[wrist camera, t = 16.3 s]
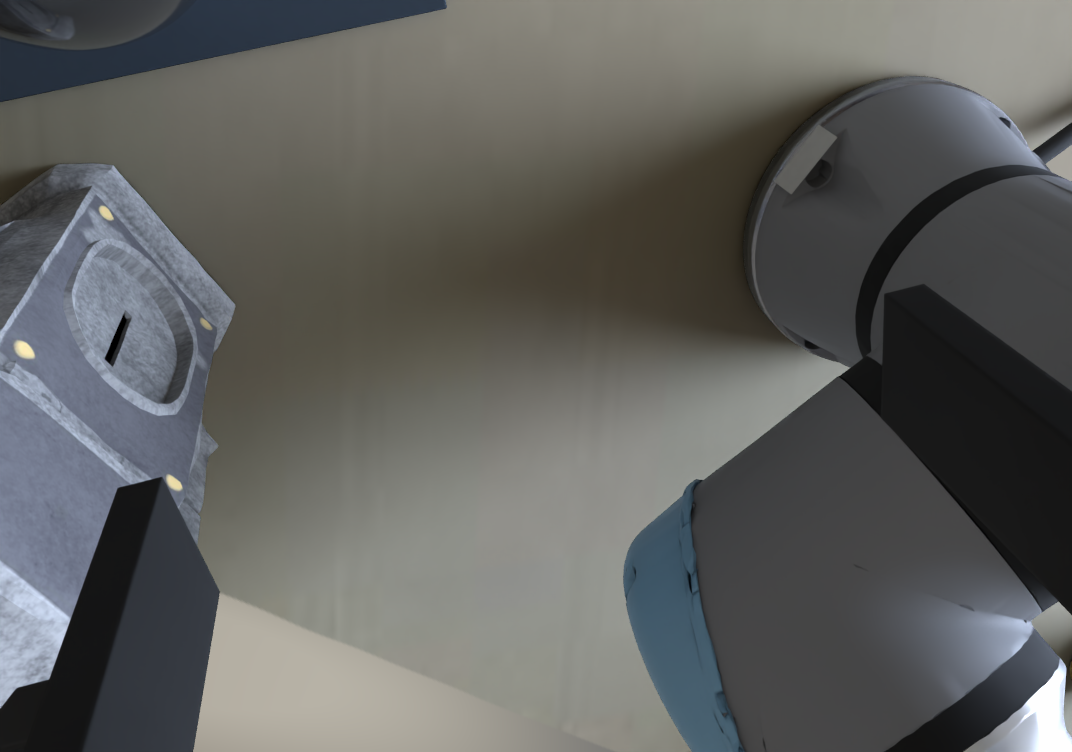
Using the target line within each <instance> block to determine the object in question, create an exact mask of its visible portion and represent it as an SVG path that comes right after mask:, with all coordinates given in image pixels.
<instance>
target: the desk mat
mask: <svg viewBox="0 0 1072 752" xmlns="http://www.w3.org/2000/svg"><path fill="white" fill-rule="evenodd" d="M446 7H447V6H446V1H445V0H197V1H196V2H195V3H194V4H193V5H192V6H191V7H190V8H189V9H188V10H187V11H186V12H185V13H184V14H183V15H182V16H181V17H180V18H178V19H177V20H176V21H175V22H173V23H172V24H170V25H169V26H168V27H166V28H164V29H163V30H161V31H159V32H157V33H155V34H153V35H151V36H149V37H147V38H144V39H142V40H139V41H136V42H133V43H130V44H126V45H122V46H118V47H113V48H108V49H102V50H93V51H56V50H47V49H40V48H34V47H30V46H25V45H21V44H17V43H13V42H9V41H6V40H3V39H0V102H3V101H8V100H12V99H17V98H22V97H27V96H31V95H36V94H41V93H46V92H51V91H55V90H60V89H65V88H70V87H74V86H79V85H84V84H89V83H93V82H98V81H103V80H108V79H112V78H117V77H122V76H127V75H132V74H136V73H141V72H146V71H151V70H155V69H160V68H165V67H170V66H174V65H179V64H184V63H189V62H193V61H198V60H203V59H208V58H213V57H217V56H222V55H227V54H232V53H236V52H241V51H246V50H251V49H255V48H260V47H265V46H270V45H275V44H279V43H284V42H289V41H294V40H298V39H303V38H308V37H313V36H317V35H322V34H327V33H332V32H336V31H341V30H346V29H351V28H356V27H360V26H365V25H370V24H375V23H379V22H384V21H389V20H394V19H398V18H403V17H408V16H413V15H417V14H422V13H427V12H432V11H437V10H441V9H446Z"/></svg>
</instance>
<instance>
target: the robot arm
mask: <svg viewBox="0 0 1072 752" xmlns="http://www.w3.org/2000/svg"><path fill="white" fill-rule="evenodd" d="M1070 145H1072V123H1070V124H1069V125H1068V126H1066V127H1065V128H1063V129H1062V130H1061V131H1059V132H1058V133H1057V134H1055V135H1054V136H1053V137H1051V138H1050V139H1048V140H1047V141H1046V142H1044V143H1043V144H1042V145H1040V146H1039V147H1037V148H1036V149H1035V150H1033V151H1030V150H1029V147H1028V145H1027V143H1026V141H1025V139H1024V137H1023V135H1022V134H1021V132H1020V131H1019V129H1018V128H1017V127H1016V125H1015V124H1014V123H1013V122H1012V120H1011V119H1010V118H1009V117H1008V116H1007V115H1006V114H1005V113H1004V112H1003V111H1002V110H1001V109H999V108H998V107H997V106H995V105H994V104H993V103H992V102H990V101H989V100H988V99H986V98H985V97H983V96H981V95H980V94H978V93H976V92H974V91H971V90H969V89H967V88H964V87H962V86H959V85H957V84H954V83H951V82H948V81H945V80H942V79H938V78H932V77H924V76H905V77H895V78H890V79H884V80H881V81H877V82H873V83H870V84H867V85H865V86H862V87H860V88H857V89H855V90H853V91H851V92H849V93H847V94H845V95H843V96H841V97H839V98H838V99H836V100H834V101H833V102H831V103H829V104H828V105H826V106H825V107H824V108H822V109H821V110H820V111H818V112H817V113H815V114H814V115H813V116H812V117H811V118H810V119H808V120H807V121H806V122H805V123H804V124H803V125H802V126H801V127H800V128H799V129H798V130H797V131H796V132H795V133H794V134H793V135H792V136H791V137H790V138H789V139H788V141H787V142H786V143H785V144H784V145H783V146H782V148H781V149H780V150H779V152H778V153H777V155H776V156H775V157H774V159H773V160H772V162H771V163H770V165H769V167H768V168H767V170H766V172H765V173H764V175H763V177H762V179H761V181H760V183H759V185H758V187H757V190H756V192H755V195H754V197H753V200H752V203H751V206H750V209H749V212H748V216H747V221H746V226H745V232H744V241H743V257H744V267H745V272H746V277H747V281H748V284H749V287H750V290H751V292H752V295H753V297H754V299H755V301H756V302H757V304H758V306H759V307H760V309H761V310H762V312H763V313H764V314H765V315H766V316H767V318H768V319H769V320H770V321H771V322H772V323H773V324H774V325H775V326H776V327H777V329H778V330H779V331H781V332H782V333H783V334H784V335H785V336H786V337H787V338H788V339H790V340H791V341H792V342H794V343H795V344H797V345H799V346H800V347H802V348H804V349H805V350H807V351H809V352H811V353H813V354H815V355H817V356H820V357H822V358H825V359H828V360H832V361H836V362H840V363H842V364H843V365H845V366H848V367H851V368H850V369H848V370H847V371H846V372H845V373H843V374H842V375H841V376H839V377H837V378H835V379H834V380H833V381H832V382H830V383H829V384H828V385H826V386H825V387H824V388H823V389H821V390H820V391H819V392H817V393H816V394H815V395H814V396H812V397H811V398H810V399H809V400H807V401H806V402H805V403H803V404H802V405H801V406H800V407H798V408H797V409H796V410H794V411H793V412H792V413H791V414H789V415H788V416H787V417H786V418H784V419H783V420H782V421H780V422H779V423H778V424H777V425H775V426H774V427H773V428H771V429H770V430H769V431H768V432H766V433H765V434H764V435H763V436H761V437H760V438H759V439H757V440H756V441H755V442H753V443H752V444H751V445H750V446H748V447H747V448H746V449H744V450H743V451H742V452H740V453H739V454H738V455H736V456H735V457H734V458H732V459H731V460H730V461H728V462H727V463H726V464H724V465H723V466H722V467H720V468H719V469H718V470H716V471H715V472H714V473H712V474H711V475H710V476H708V477H707V478H706V479H704V480H698V479H696V480H695V481H693V482H692V483H690V484H689V485H688V486H687V487H686V489H685V491H684V493H683V496H682V497H680V498H679V499H678V500H677V501H676V502H675V503H674V504H672V505H671V506H670V507H669V508H668V509H667V510H665V511H664V512H663V513H662V514H661V515H660V516H658V517H657V518H656V519H655V520H654V521H653V522H651V523H650V524H649V525H648V526H647V527H646V528H644V529H643V530H642V531H641V532H640V533H639V534H638V535H637V536H636V538H635V539H634V541H633V542H632V544H631V546H630V548H629V550H628V553H627V556H626V560H625V564H624V575H623V582H624V591H625V597H626V601H627V603H626V606H627V611H628V615H629V619H630V623H631V626H632V629H633V633H634V636H635V639H636V642H637V645H638V647H639V650H640V653H641V655H642V658H643V660H644V663H645V665H646V668H647V670H648V672H649V675H650V677H651V679H652V681H653V683H654V686H655V688H656V690H657V692H658V694H659V696H660V698H661V700H662V702H663V704H664V706H665V707H666V709H667V711H668V713H669V715H670V717H671V718H672V720H673V722H674V724H675V725H676V727H677V729H678V730H679V732H680V734H681V736H682V737H683V739H684V740H685V742H686V743H687V745H688V746H689V748H690V749H691V751H692V752H1072V737H1071V736H1070V735H1069V733H1068V732H1067V731H1066V727H1065V722H1064V718H1063V710H1064V696H1065V682H1066V666H1065V664H1064V663H1063V661H1062V660H1061V659H1060V657H1059V656H1058V655H1057V654H1056V653H1055V652H1054V651H1053V650H1052V648H1051V647H1050V646H1049V645H1048V644H1047V643H1046V641H1045V640H1044V639H1043V638H1042V637H1041V636H1040V634H1039V633H1038V632H1037V631H1036V630H1035V629H1034V627H1033V626H1032V624H1031V620H1032V619H1034V618H1035V617H1036V616H1037V615H1039V614H1040V613H1041V612H1043V611H1044V610H1046V609H1047V608H1049V607H1050V606H1052V605H1054V604H1055V603H1057V602H1058V601H1059V602H1060V603H1061V604H1062V605H1063V606H1064V607H1065V608H1066V610H1067V611H1068V612H1069V613H1070V614H1071V615H1072V181H1069V180H1067V179H1065V178H1062V177H1060V176H1058V175H1056V174H1054V173H1052V172H1051V171H1050V170H1049V168H1048V167H1047V166H1046V165H1045V164H1046V163H1047V162H1048V161H1050V160H1051V159H1053V158H1054V157H1055V156H1057V155H1058V154H1059V153H1061V152H1062V151H1063V150H1065V149H1066V148H1068V147H1069V146H1070ZM219 593H220V591H219V589H218V587H217V585H216V583H215V581H214V579H213V577H212V575H211V573H210V571H209V569H208V567H207V565H206V563H205V561H204V559H203V557H202V555H201V553H200V551H199V549H198V547H197V545H196V543H195V541H194V539H193V537H192V535H191V533H190V531H189V529H188V527H187V525H186V523H185V521H184V519H183V517H182V515H181V513H180V511H179V509H178V507H177V505H176V503H175V501H174V499H173V497H172V495H171V493H170V491H169V489H168V487H167V485H166V483H165V481H164V479H163V477H159V478H155V479H151V480H147V481H143V482H139V483H135V484H131V485H127V486H123V487H119V488H117V491H116V494H115V497H114V499H113V502H112V505H111V508H110V511H109V513H108V516H107V519H106V522H105V524H104V527H103V530H102V533H101V536H100V538H99V541H98V544H97V547H96V550H95V552H94V555H93V558H92V561H91V564H90V566H89V569H88V572H87V575H86V578H85V580H84V583H83V586H82V589H81V592H80V594H79V597H78V600H77V603H76V605H75V608H74V611H73V614H72V617H71V619H70V622H69V625H68V628H67V631H66V633H65V636H64V639H63V642H62V645H61V647H60V650H59V653H58V656H57V659H56V661H55V664H54V667H53V670H52V673H51V675H50V678H49V679H48V680H45V681H41V682H37V683H33V684H30V685H26V686H22V687H18V688H16V689H15V691H14V692H13V693H12V694H11V696H10V697H9V698H8V699H7V701H6V702H5V703H4V704H3V706H2V707H1V708H0V752H193V749H194V743H195V737H196V731H197V725H198V719H199V713H200V707H201V701H202V695H203V689H204V683H205V677H206V671H207V665H208V659H209V653H210V646H211V641H212V635H213V629H214V623H215V617H216V611H217V605H218V599H219Z"/></svg>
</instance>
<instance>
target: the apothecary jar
mask: <svg viewBox="0 0 1072 752" xmlns="http://www.w3.org/2000/svg"><path fill="white" fill-rule="evenodd" d="M1070 676H1071V679H1072V661H1071V664H1070Z"/></svg>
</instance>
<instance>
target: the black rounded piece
mask: <svg viewBox="0 0 1072 752" xmlns="http://www.w3.org/2000/svg"><path fill="white" fill-rule="evenodd" d="M196 1H197V0H0V39H3V40H6V41H9V42H13V43H17V44H21V45H25V46H30V47H34V48H40V49H47V50H56V51H93V50H102V49H108V48H113V47H118V46H122V45H126V44H130V43H133V42H136V41H139V40H142V39H144V38H147V37H149V36H151V35H153V34H155V33H157V32H159V31H161V30H163V29H164V28H166V27H168V26H169V25H170V24H172V23H173V22H175V21H176V20H177V19H178V18H180V17H181V16H182V15H183V14H184V13H185V12H186V11H187V10H188V9H189V8H190V7H191V6H192V5H193V4H194V3H195V2H196Z"/></svg>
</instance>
